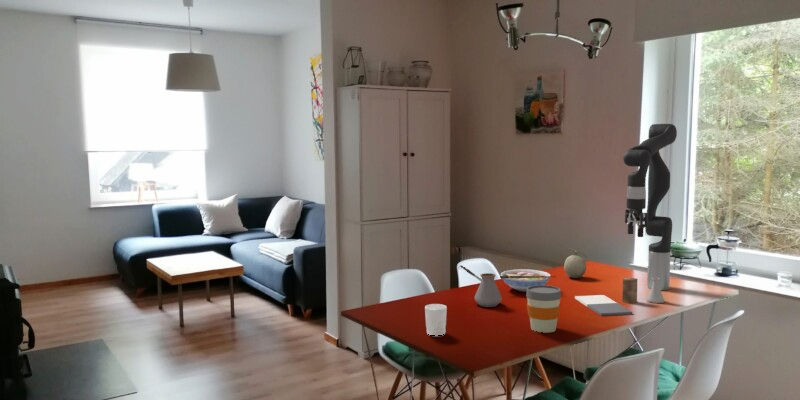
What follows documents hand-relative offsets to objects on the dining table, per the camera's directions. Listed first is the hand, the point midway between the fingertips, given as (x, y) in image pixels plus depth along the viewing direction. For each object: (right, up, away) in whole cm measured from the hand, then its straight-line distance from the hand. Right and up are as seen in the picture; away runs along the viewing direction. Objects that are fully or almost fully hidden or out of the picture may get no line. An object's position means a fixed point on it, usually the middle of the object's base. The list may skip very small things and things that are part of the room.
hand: (635, 235), depth 255 cm
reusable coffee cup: (-46, -33, -32) cm, 65 cm away
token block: (-2, -28, +2) cm, 28 cm away
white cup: (-86, -34, -35) cm, 99 cm away
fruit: (-12, -24, +47) cm, 54 cm away
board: (-15, -29, -4) cm, 33 cm away
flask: (+9, -28, +2) cm, 30 cm away
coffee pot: (-65, -29, +5) cm, 72 cm away
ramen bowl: (-41, -27, +25) cm, 55 cm away
